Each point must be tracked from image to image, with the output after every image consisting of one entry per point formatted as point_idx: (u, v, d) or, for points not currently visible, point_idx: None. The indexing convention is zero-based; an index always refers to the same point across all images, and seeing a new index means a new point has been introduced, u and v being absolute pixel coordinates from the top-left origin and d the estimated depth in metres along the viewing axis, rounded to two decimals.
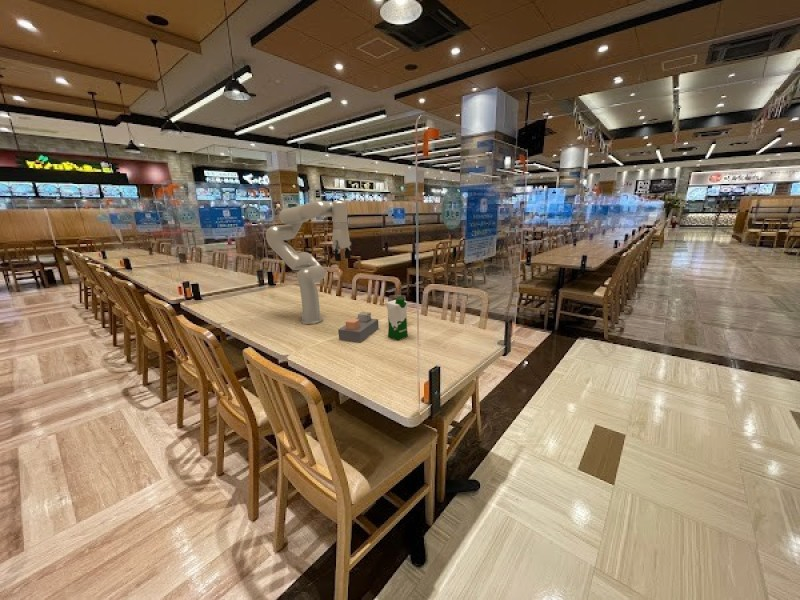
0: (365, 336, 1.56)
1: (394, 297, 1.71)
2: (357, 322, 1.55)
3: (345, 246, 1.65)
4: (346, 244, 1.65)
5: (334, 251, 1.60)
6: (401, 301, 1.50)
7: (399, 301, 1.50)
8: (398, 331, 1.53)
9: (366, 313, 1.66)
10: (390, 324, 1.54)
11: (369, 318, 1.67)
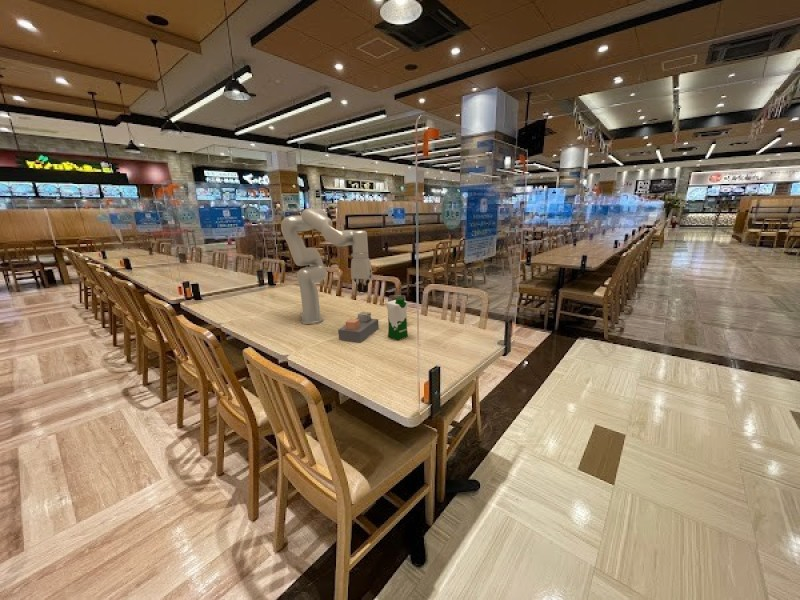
0: (365, 336, 1.56)
1: (394, 297, 1.71)
2: (357, 322, 1.55)
3: None
4: None
5: (368, 282, 1.60)
6: (401, 301, 1.50)
7: (399, 301, 1.50)
8: (398, 331, 1.53)
9: (366, 313, 1.66)
10: (390, 324, 1.54)
11: (369, 318, 1.67)
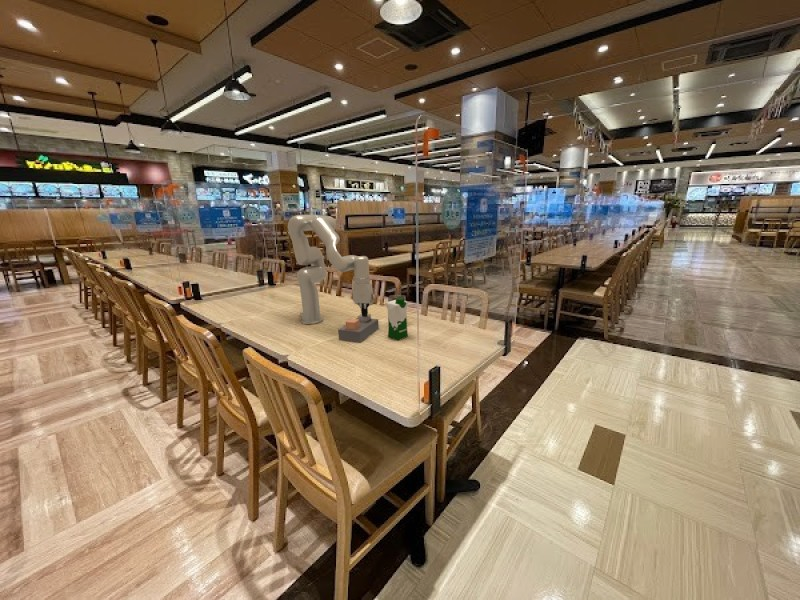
0: (365, 336, 1.56)
1: (394, 297, 1.71)
2: (357, 322, 1.55)
3: None
4: None
5: (368, 306, 1.64)
6: (401, 301, 1.50)
7: (399, 301, 1.50)
8: (398, 331, 1.53)
9: (366, 315, 1.66)
10: (390, 324, 1.54)
11: (369, 320, 1.67)
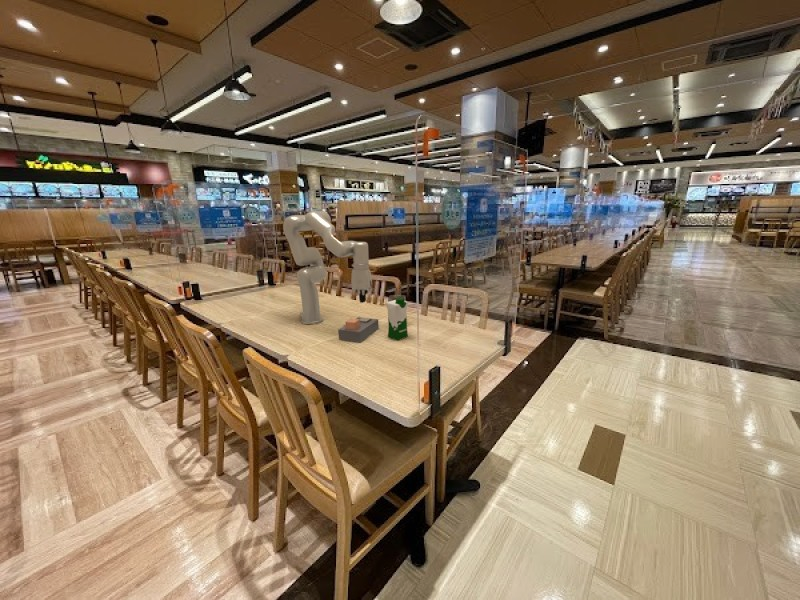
0: (365, 336, 1.56)
1: (394, 297, 1.71)
2: (357, 322, 1.55)
3: None
4: None
5: (366, 293, 1.62)
6: (401, 301, 1.50)
7: (399, 301, 1.50)
8: (398, 331, 1.53)
9: (366, 319, 1.67)
10: (390, 324, 1.54)
11: None
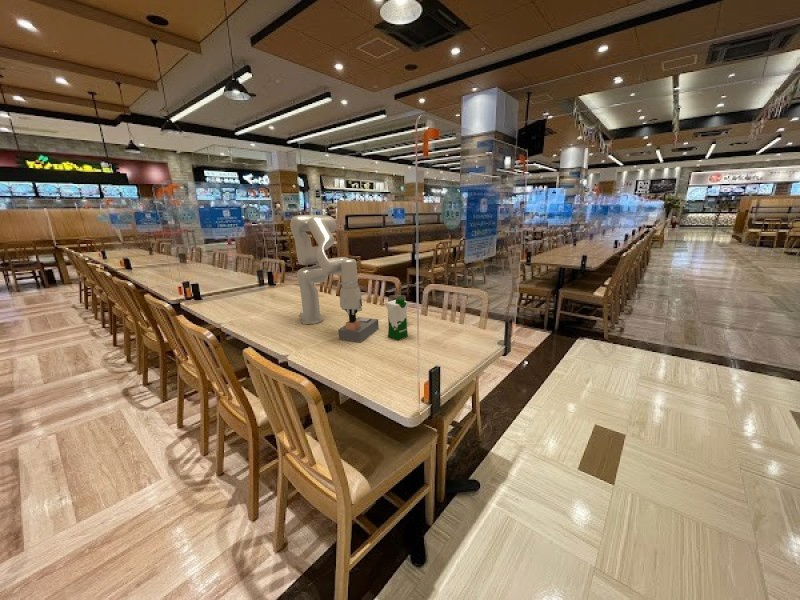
0: (365, 336, 1.56)
1: (394, 297, 1.71)
2: (357, 323, 1.55)
3: None
4: None
5: (356, 312, 1.53)
6: (401, 301, 1.50)
7: (399, 301, 1.50)
8: (398, 331, 1.53)
9: (366, 319, 1.67)
10: (390, 324, 1.54)
11: None
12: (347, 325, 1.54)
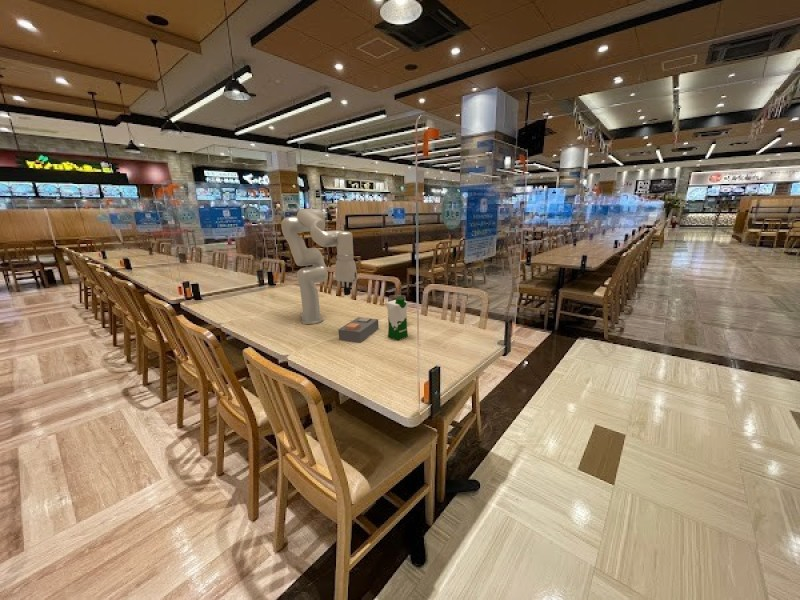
0: (365, 336, 1.56)
1: (394, 297, 1.71)
2: (357, 326, 1.56)
3: None
4: None
5: (350, 285, 1.55)
6: (401, 301, 1.50)
7: (399, 301, 1.50)
8: (398, 331, 1.53)
9: (366, 319, 1.67)
10: (390, 324, 1.54)
11: None
12: (347, 328, 1.55)
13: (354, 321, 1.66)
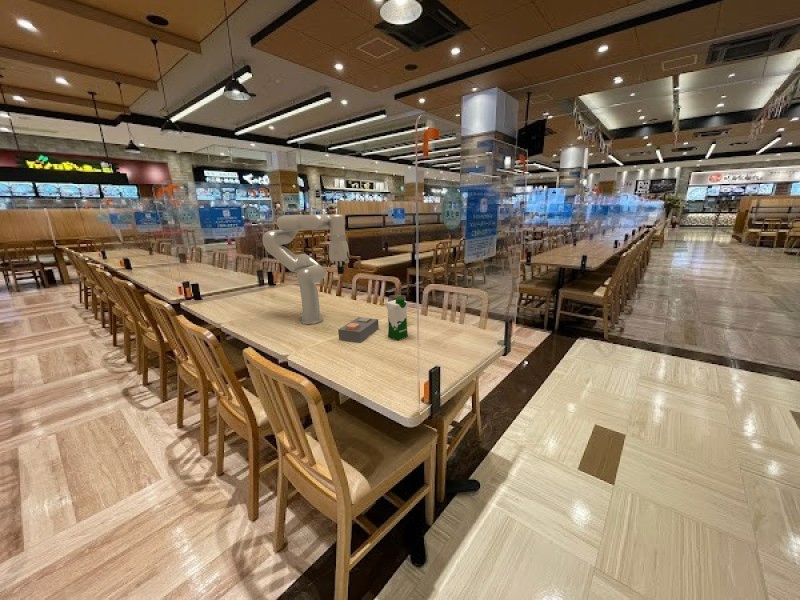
0: (365, 336, 1.56)
1: (394, 297, 1.71)
2: (357, 326, 1.56)
3: None
4: None
5: (343, 264, 1.68)
6: (401, 301, 1.50)
7: (399, 301, 1.50)
8: (398, 331, 1.53)
9: (366, 319, 1.67)
10: (390, 324, 1.54)
11: None
12: (347, 328, 1.55)
13: (354, 321, 1.66)
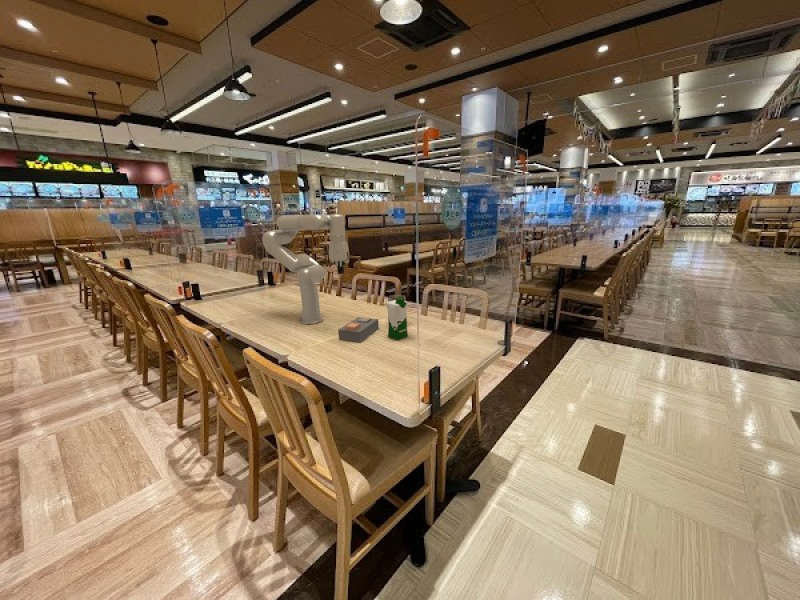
0: (365, 336, 1.56)
1: (394, 297, 1.71)
2: (357, 326, 1.56)
3: None
4: None
5: (343, 264, 1.68)
6: (401, 301, 1.50)
7: (399, 301, 1.50)
8: (398, 331, 1.53)
9: (366, 319, 1.67)
10: (390, 324, 1.54)
11: None
12: (347, 328, 1.55)
13: (354, 321, 1.66)
